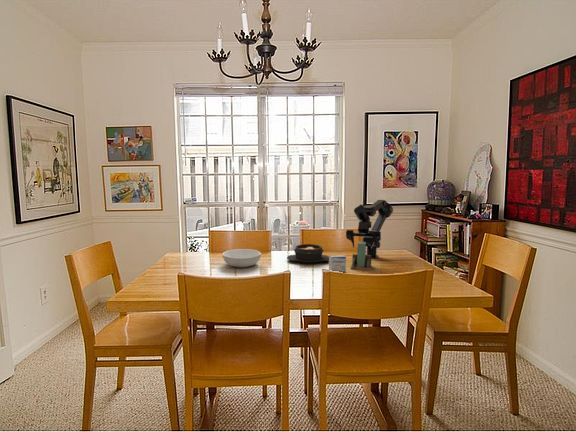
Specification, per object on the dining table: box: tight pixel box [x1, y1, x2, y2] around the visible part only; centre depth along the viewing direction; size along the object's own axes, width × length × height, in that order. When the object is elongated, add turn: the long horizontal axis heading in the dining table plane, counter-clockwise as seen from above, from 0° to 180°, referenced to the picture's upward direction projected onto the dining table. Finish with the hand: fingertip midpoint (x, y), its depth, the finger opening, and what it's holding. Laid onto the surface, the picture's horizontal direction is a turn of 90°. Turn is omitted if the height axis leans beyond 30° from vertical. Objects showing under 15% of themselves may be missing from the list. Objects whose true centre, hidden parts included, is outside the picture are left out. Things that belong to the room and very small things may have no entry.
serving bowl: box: [222, 248, 262, 268], centre depth 195 cm, size 21×21×7 cm
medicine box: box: [328, 254, 347, 272], centre depth 182 cm, size 8×4×9 cm, turn 101°
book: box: [356, 241, 367, 267], centre depth 191 cm, size 5×4×12 cm
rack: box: [350, 253, 372, 271], centre depth 192 cm, size 10×10×6 cm
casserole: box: [286, 243, 330, 264], centre depth 205 cm, size 25×19×8 cm
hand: (362, 248), depth 193 cm, fingers open, 9 cm apart
